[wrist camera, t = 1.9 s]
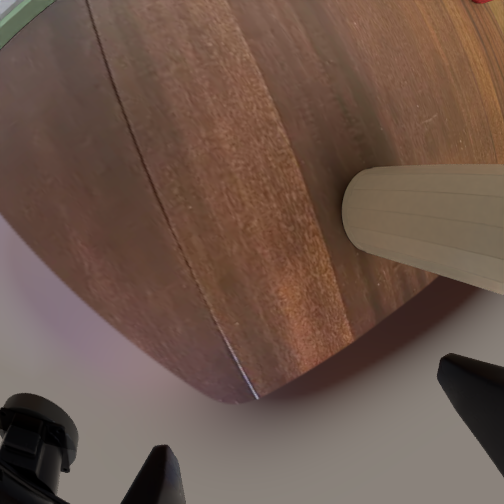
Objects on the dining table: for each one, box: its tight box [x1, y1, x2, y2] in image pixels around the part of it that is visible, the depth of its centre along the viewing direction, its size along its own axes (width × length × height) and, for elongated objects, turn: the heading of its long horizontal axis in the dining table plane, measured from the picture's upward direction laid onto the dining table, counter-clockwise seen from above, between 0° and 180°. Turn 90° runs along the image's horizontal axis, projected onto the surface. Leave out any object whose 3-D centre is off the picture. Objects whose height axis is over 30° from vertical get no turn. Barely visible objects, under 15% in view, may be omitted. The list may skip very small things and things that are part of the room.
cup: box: [342, 164, 504, 295], centre depth 16 cm, size 6×6×13 cm
